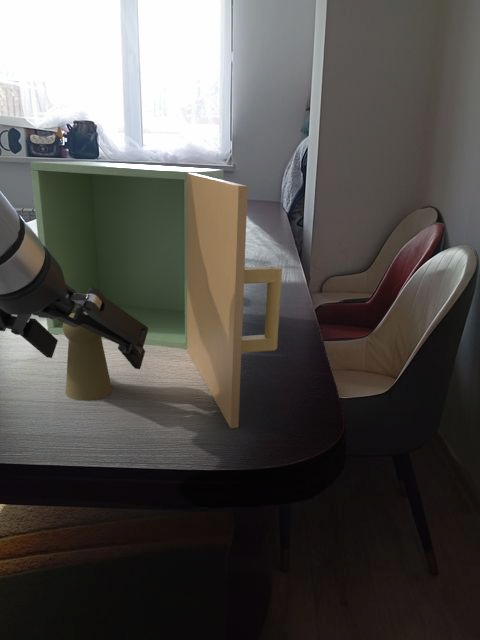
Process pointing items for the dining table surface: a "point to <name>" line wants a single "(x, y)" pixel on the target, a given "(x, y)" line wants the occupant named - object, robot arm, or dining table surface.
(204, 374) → the cabinet door
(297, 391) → the dining table surface
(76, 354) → the olive brown pawn
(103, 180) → the cabinet
